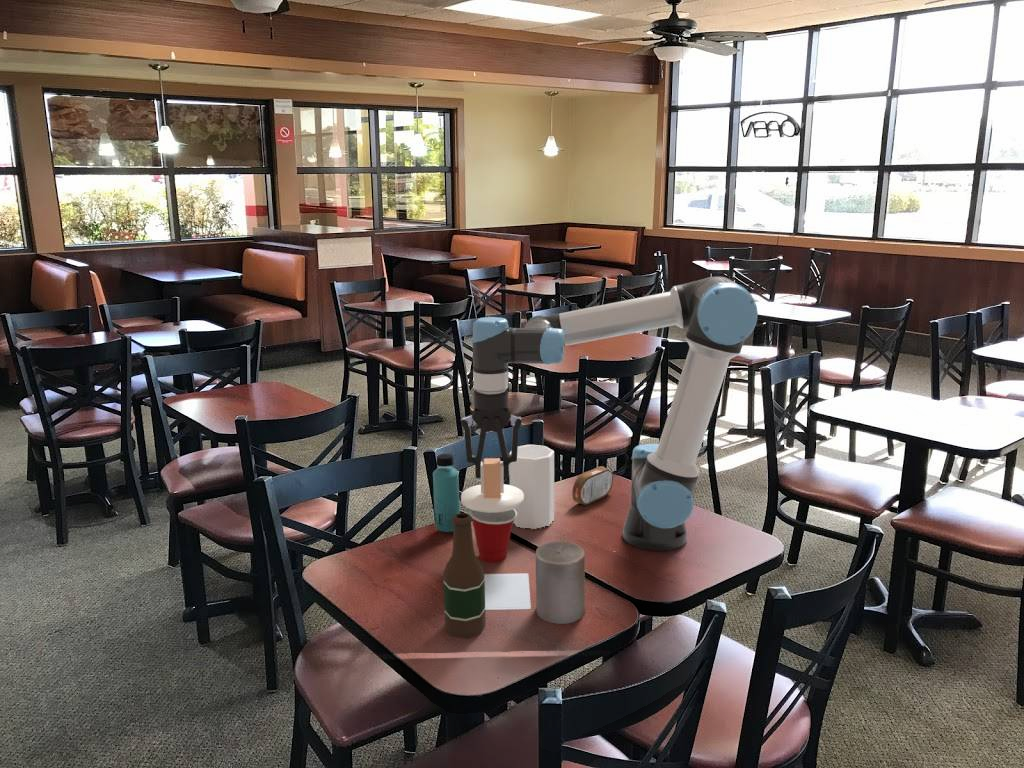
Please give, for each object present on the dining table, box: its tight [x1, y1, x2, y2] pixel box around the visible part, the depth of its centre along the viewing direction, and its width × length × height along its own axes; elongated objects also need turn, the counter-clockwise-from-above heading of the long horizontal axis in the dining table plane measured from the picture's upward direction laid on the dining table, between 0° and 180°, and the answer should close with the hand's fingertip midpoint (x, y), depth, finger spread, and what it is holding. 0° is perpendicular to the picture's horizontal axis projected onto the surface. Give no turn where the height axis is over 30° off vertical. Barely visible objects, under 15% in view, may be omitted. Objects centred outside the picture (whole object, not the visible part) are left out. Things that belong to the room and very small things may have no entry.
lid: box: [460, 457, 524, 513], centre depth 182 cm, size 14×14×9 cm
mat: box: [484, 572, 532, 611], centre depth 171 cm, size 15×15×1 cm
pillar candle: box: [535, 540, 586, 625], centre depth 161 cm, size 10×10×15 cm
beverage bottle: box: [432, 453, 461, 533], centre depth 198 cm, size 6×7×20 cm
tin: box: [571, 465, 614, 506], centre depth 219 cm, size 15×3×8 cm, turn 136°
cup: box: [508, 444, 555, 530], centre depth 205 cm, size 11×11×18 cm
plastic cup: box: [468, 509, 517, 563], centre depth 185 cm, size 11×11×12 cm
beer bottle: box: [442, 512, 486, 640], centre depth 154 cm, size 8×8×24 cm
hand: (492, 490), depth 182 cm, fingers closed on lid, 4 cm apart
